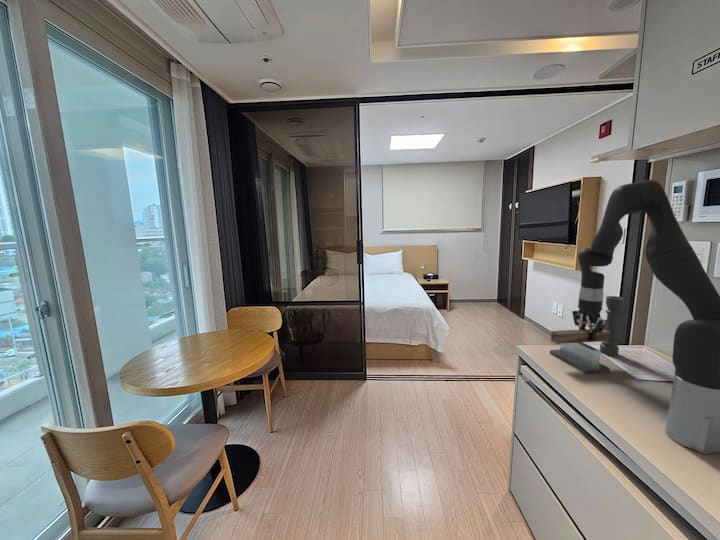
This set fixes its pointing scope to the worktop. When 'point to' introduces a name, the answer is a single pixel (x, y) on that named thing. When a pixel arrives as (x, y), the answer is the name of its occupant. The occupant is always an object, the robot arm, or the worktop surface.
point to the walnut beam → (577, 336)
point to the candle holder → (612, 325)
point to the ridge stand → (580, 357)
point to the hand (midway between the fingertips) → (586, 338)
